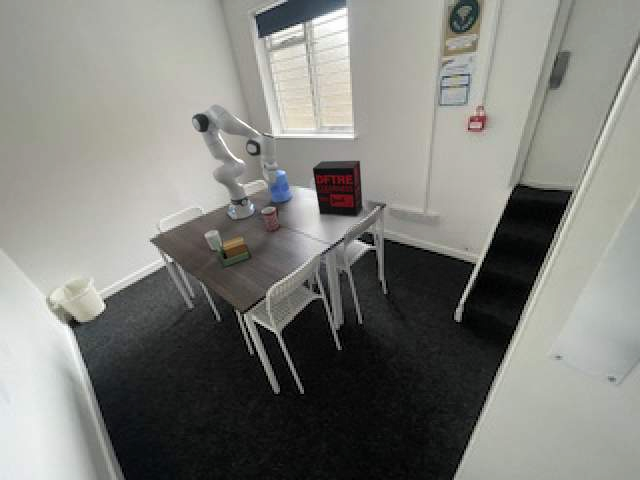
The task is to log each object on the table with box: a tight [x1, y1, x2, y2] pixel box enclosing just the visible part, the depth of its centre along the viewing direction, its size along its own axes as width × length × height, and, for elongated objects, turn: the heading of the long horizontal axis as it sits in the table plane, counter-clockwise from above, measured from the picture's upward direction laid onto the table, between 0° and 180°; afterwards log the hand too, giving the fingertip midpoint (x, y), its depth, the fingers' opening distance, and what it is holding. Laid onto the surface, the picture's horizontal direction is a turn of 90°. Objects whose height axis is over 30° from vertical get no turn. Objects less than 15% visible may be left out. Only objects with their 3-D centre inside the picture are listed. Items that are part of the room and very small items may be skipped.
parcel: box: [222, 236, 248, 259], centre depth 148 cm, size 11×9×9 cm
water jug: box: [268, 169, 292, 204], centre depth 205 cm, size 16×16×28 cm
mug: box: [261, 206, 280, 232], centre depth 170 cm, size 13×9×14 cm
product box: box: [312, 160, 363, 217], centre depth 172 cm, size 26×14×32 cm, turn 67°
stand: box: [216, 239, 250, 268], centre depth 147 cm, size 14×14×10 cm
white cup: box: [204, 229, 223, 251], centre depth 158 cm, size 8×8×10 cm
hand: (269, 187), depth 157 cm, fingers closed
